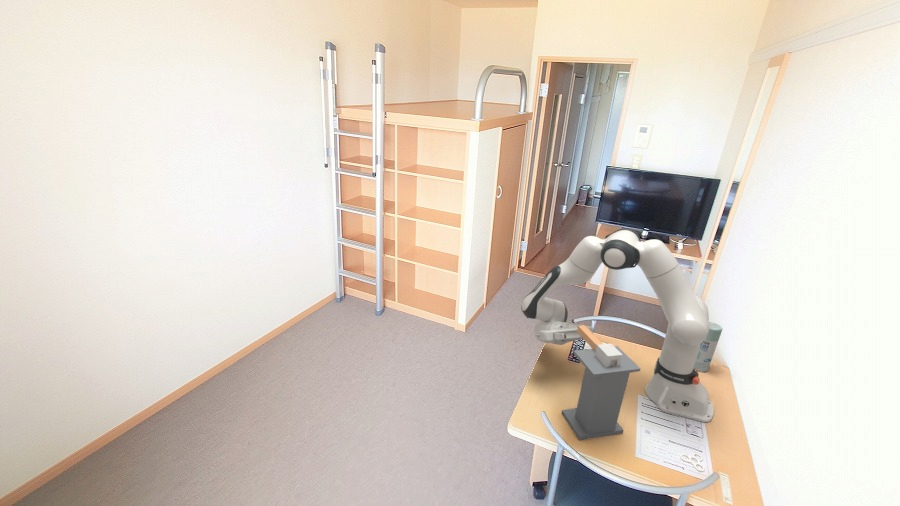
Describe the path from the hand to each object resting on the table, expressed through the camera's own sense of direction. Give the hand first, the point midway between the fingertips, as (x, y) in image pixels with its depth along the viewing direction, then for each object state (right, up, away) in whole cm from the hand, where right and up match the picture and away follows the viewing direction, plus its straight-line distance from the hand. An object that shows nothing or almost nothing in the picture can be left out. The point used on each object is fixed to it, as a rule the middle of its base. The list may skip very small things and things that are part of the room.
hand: (576, 334), depth 147 cm
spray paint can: (+59, -19, +25) cm, 66 cm away
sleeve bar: (+3, -2, -12) cm, 12 cm away
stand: (+3, -28, -7) cm, 29 cm away
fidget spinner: (+30, -36, -20) cm, 51 cm away
